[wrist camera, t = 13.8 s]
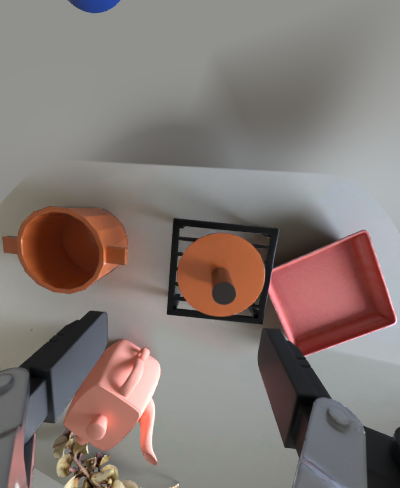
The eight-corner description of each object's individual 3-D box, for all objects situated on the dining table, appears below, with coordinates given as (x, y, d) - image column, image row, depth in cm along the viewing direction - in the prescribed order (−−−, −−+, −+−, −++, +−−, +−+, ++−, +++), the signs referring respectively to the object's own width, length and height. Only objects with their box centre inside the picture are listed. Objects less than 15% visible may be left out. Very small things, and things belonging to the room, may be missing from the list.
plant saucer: (290, 347, 39) (297, 361, 35) (254, 268, 36) (259, 274, 32) (382, 312, 37) (399, 323, 33) (352, 225, 34) (367, 227, 30)
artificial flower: (164, 486, 50) (52, 446, 46) (192, 457, 47) (72, 410, 42) (155, 553, 41) (15, 511, 37) (189, 524, 37) (36, 473, 33)
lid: (181, 227, 30) (173, 234, 23) (269, 236, 30) (288, 245, 23) (175, 308, 32) (166, 336, 25) (256, 317, 32) (269, 347, 25)
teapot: (170, 393, 41) (155, 473, 29) (94, 394, 42) (48, 473, 30) (164, 329, 39) (144, 387, 26) (82, 332, 39) (26, 390, 27)
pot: (44, 202, 35) (-7, 200, 26) (143, 212, 34) (123, 213, 26) (48, 268, 37) (2, 286, 29) (141, 278, 37) (121, 299, 28)
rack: (178, 216, 34) (173, 218, 30) (269, 225, 34) (279, 228, 29) (171, 300, 37) (166, 314, 33) (255, 309, 37) (262, 324, 32)
